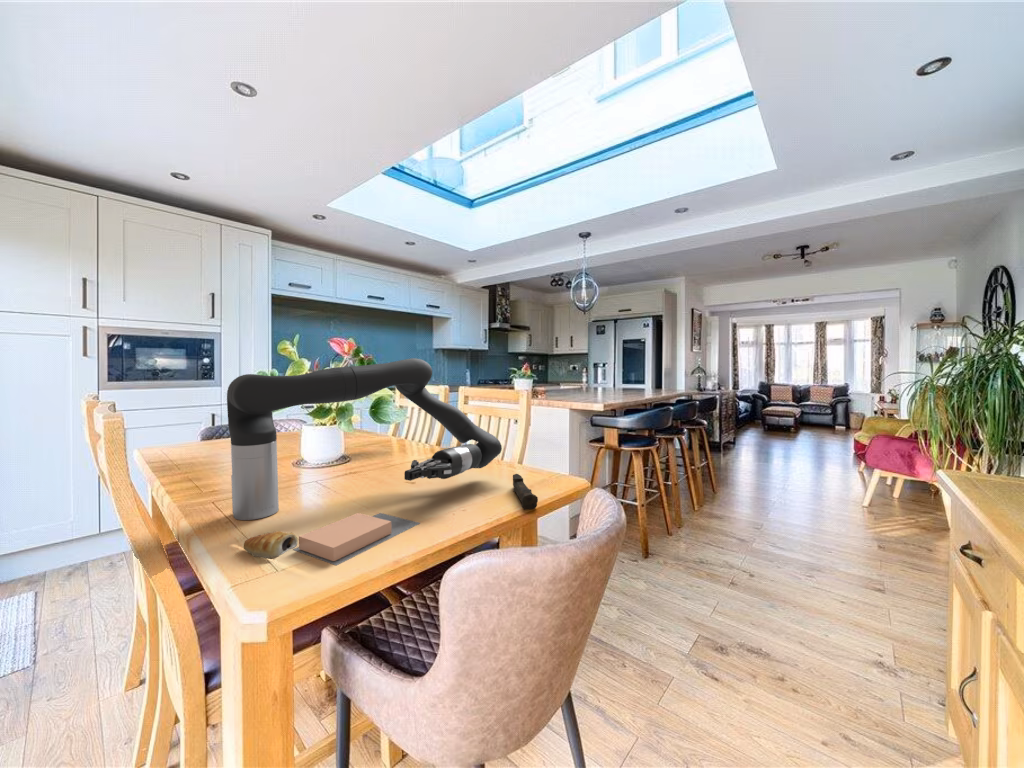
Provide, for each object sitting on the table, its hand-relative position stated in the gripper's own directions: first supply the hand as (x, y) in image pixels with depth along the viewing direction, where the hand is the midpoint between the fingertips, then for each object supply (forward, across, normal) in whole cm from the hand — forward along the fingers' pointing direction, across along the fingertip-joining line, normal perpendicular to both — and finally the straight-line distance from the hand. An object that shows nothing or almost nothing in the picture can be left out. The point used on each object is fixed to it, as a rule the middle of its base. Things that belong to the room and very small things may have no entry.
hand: (406, 476), depth 97 cm
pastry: (+26, -10, +10) cm, 30 cm away
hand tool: (-25, +17, +10) cm, 32 cm away
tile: (+10, 0, +8) cm, 13 cm away
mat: (+13, 0, +10) cm, 17 cm away
